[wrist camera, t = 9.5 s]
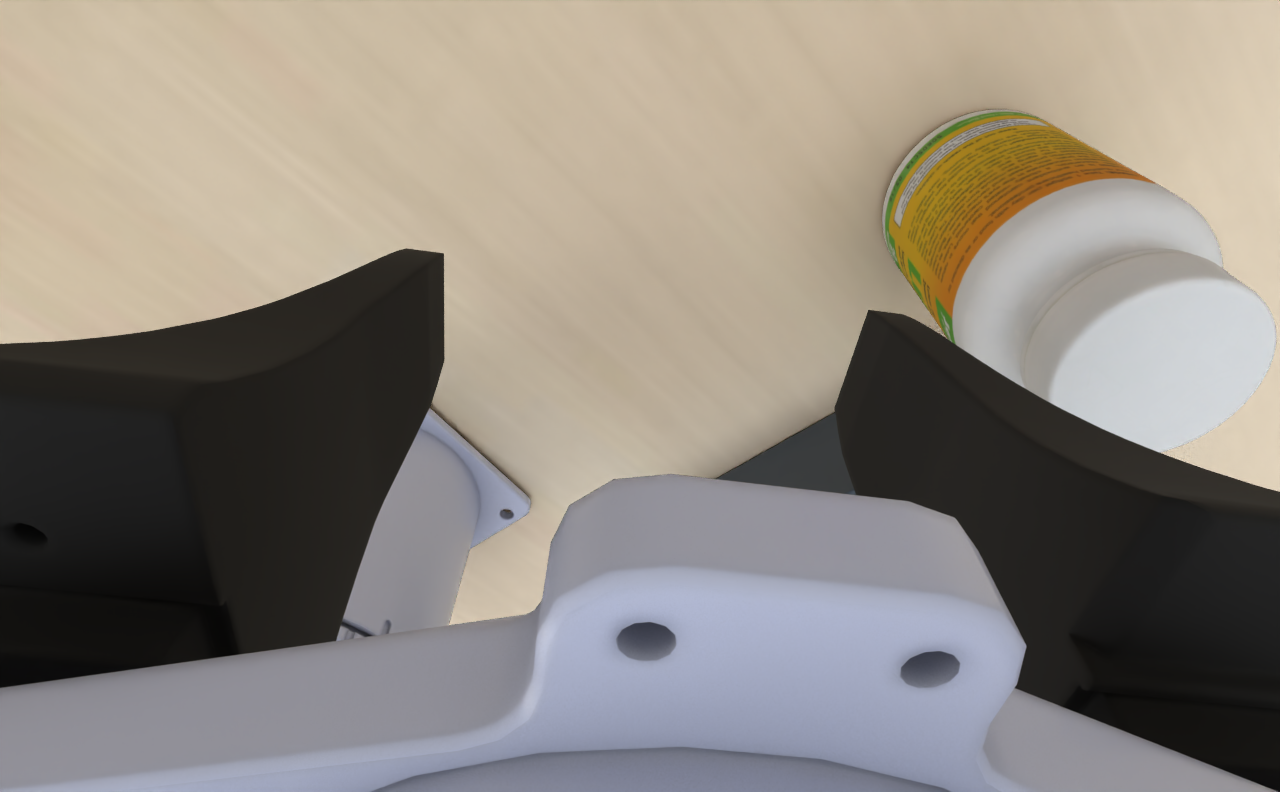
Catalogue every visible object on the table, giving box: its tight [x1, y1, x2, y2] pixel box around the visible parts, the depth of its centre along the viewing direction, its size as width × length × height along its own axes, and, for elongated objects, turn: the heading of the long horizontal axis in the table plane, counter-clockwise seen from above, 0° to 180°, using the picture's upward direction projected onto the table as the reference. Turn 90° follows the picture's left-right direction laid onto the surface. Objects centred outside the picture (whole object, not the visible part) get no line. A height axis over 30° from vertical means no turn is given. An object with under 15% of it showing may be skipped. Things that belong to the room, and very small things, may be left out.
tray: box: [717, 413, 856, 495], centre depth 28 cm, size 13×13×4 cm
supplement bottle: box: [882, 109, 1276, 453], centre depth 18 cm, size 5×5×10 cm
